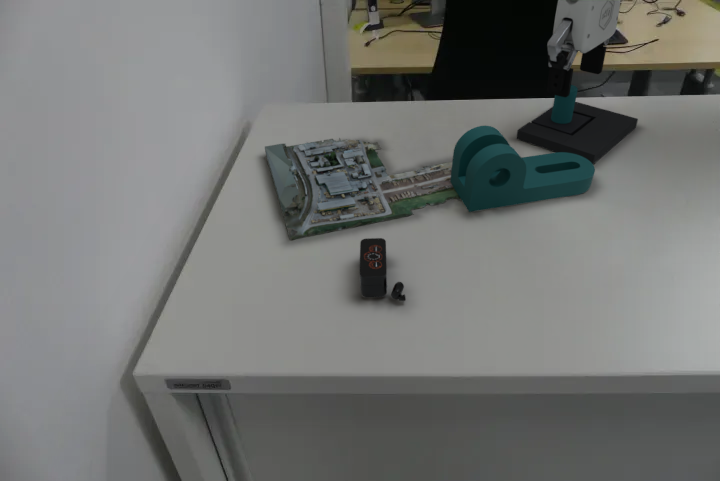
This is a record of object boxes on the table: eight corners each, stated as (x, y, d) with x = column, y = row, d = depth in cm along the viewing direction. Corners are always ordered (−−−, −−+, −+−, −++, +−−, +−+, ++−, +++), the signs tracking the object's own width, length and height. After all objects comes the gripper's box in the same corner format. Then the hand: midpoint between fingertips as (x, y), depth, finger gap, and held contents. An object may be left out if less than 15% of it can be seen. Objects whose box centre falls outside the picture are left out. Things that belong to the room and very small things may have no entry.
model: (517, 193, 73) (519, 182, 72) (290, 240, 67) (288, 229, 66) (453, 123, 89) (454, 113, 88) (266, 156, 84) (264, 146, 83)
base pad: (562, 106, 92) (564, 98, 91) (635, 127, 85) (638, 118, 84) (516, 138, 84) (517, 129, 83) (592, 164, 77) (594, 155, 76)
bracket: (469, 212, 69) (476, 157, 64) (450, 181, 74) (455, 129, 69) (600, 191, 72) (617, 137, 67) (574, 163, 77) (588, 111, 72)
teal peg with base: (551, 115, 89) (557, 76, 85) (589, 126, 86) (598, 86, 82) (529, 130, 86) (535, 89, 82) (568, 142, 82) (577, 101, 78)
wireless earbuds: (360, 305, 58) (359, 282, 56) (361, 261, 64) (360, 238, 62) (405, 304, 58) (405, 281, 56) (402, 260, 63) (402, 237, 61)
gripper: (591, -28, 64) (569, 111, 74) (654, -59, 73) (626, 68, 84) (532, -35, 68) (519, 97, 79) (598, -63, 78) (578, 59, 88)
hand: (574, 82), depth 81 cm, fingers open, 9 cm apart
